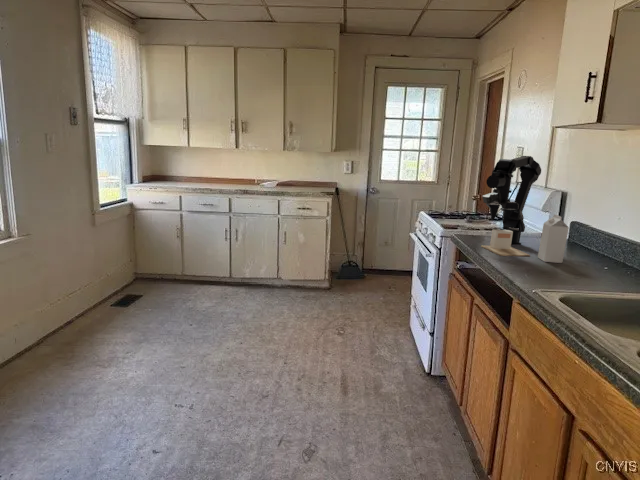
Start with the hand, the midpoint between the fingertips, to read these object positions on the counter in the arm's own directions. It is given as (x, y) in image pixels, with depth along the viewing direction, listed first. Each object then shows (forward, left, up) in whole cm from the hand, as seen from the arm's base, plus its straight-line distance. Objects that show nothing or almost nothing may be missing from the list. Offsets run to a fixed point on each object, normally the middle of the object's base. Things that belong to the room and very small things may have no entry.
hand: (498, 221), depth 199 cm
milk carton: (-12, +23, -12) cm, 29 cm away
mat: (0, +9, -12) cm, 15 cm away
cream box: (0, +5, -11) cm, 12 cm away
